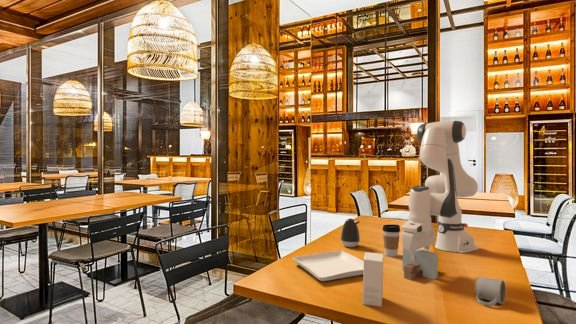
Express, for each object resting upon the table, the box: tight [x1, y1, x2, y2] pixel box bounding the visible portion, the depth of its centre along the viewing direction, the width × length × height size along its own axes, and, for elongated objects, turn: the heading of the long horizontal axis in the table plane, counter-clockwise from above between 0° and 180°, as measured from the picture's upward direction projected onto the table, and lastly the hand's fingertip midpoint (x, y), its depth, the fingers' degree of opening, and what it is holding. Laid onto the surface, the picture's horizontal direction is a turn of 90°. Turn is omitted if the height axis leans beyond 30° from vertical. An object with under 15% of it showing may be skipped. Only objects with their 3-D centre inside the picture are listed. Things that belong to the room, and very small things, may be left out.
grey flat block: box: [402, 248, 439, 280], centre depth 140 cm, size 14×3×10 cm, turn 39°
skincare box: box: [362, 251, 384, 308], centre depth 114 cm, size 8×7×16 cm
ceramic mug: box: [474, 276, 507, 307], centre depth 114 cm, size 11×8×8 cm
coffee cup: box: [382, 224, 401, 258], centre depth 166 cm, size 8×8×15 cm
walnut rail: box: [403, 262, 423, 281], centre depth 140 cm, size 18×3×5 cm, turn 129°
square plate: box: [292, 250, 364, 282], centre depth 146 cm, size 27×27×4 cm
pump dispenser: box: [340, 218, 361, 248], centre depth 183 cm, size 10×10×15 cm
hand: (419, 257), depth 140 cm, fingers open, 8 cm apart
